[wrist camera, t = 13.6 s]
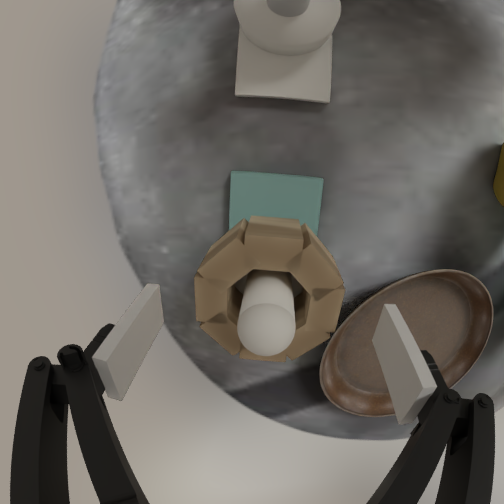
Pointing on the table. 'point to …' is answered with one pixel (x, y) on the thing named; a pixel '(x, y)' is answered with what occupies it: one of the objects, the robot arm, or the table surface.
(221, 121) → the table surface
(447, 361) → the plant saucer
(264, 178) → the hub stand
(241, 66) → the rod stand
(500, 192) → the flower pot
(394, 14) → the table surface
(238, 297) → the ring
